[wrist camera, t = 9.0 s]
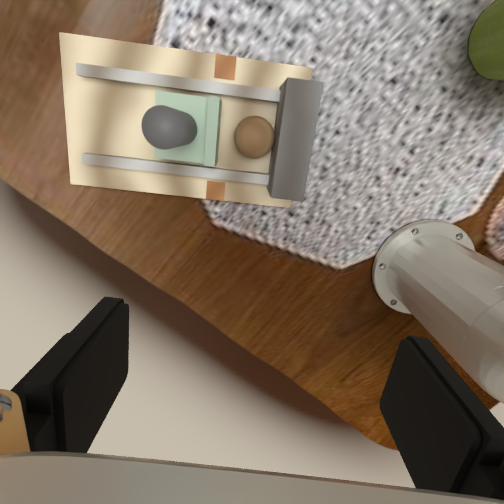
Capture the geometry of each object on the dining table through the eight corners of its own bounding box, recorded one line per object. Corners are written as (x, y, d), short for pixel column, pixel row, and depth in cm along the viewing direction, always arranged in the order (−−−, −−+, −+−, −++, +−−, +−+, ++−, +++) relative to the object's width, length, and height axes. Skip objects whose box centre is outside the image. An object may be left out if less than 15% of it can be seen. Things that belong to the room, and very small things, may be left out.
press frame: (309, 70, 33) (328, 54, 26) (288, 205, 38) (299, 222, 31) (67, 36, 31) (16, 9, 24) (77, 181, 36) (37, 194, 29)
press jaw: (222, 101, 32) (214, 88, 23) (217, 163, 34) (208, 175, 25) (161, 93, 32) (126, 76, 22) (159, 156, 34) (127, 166, 24)
